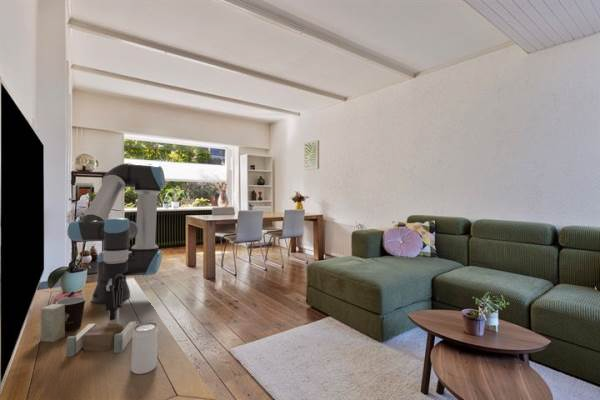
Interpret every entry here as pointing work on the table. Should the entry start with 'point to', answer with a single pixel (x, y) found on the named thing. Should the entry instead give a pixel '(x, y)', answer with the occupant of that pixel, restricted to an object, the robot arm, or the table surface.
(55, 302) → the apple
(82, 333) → the chute
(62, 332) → the box
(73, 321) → the coffee mug
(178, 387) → the table surface
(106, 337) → the block
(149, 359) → the can
